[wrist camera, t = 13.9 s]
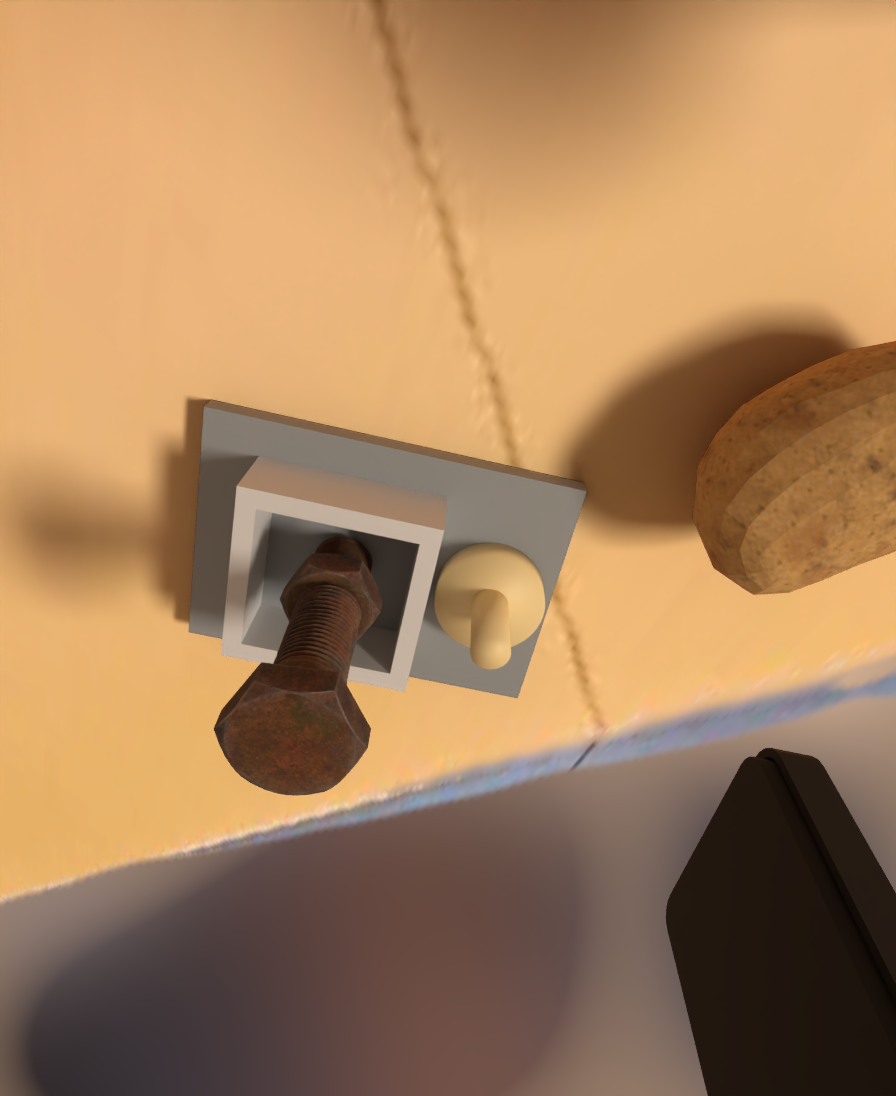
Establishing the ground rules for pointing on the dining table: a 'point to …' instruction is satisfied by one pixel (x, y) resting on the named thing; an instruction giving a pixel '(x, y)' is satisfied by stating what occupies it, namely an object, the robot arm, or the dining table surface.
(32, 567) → the dining table surface
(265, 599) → the board
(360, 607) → the bolt
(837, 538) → the potato
